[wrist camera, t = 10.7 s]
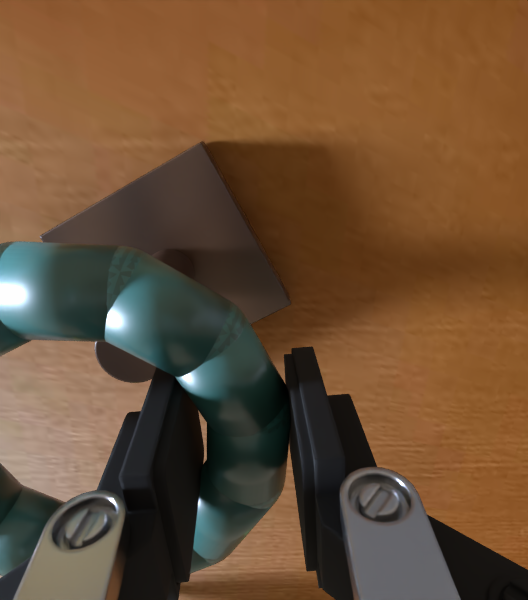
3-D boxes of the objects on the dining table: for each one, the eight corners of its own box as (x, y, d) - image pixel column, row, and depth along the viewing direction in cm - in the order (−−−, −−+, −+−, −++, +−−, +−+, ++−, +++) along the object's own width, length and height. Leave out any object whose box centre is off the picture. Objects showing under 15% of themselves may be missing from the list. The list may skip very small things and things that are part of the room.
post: (203, 140, 20) (172, 158, 12) (289, 295, 24) (313, 396, 15) (48, 230, 22) (-77, 303, 13) (150, 365, 25) (101, 493, 17)
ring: (161, 152, 9) (139, 162, 7) (341, 467, 12) (357, 528, 11) (-186, 345, 10) (-278, 395, 9) (64, 580, 14) (37, 651, 12)
